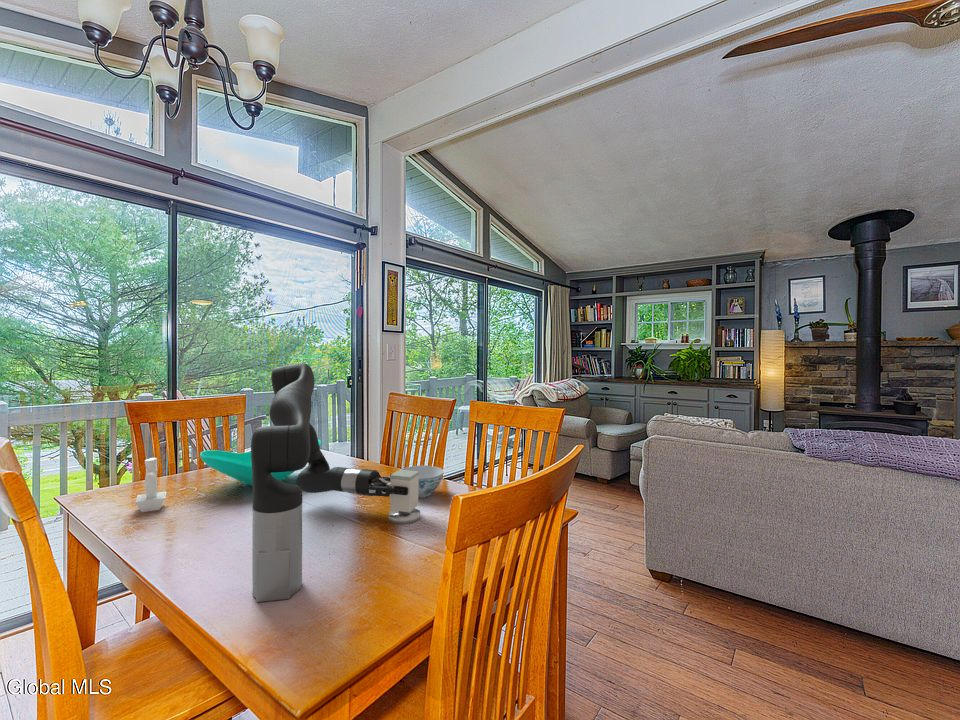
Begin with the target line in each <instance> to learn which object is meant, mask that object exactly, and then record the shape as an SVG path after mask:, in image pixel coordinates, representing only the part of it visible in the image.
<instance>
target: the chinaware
mask: <svg viewBox="0 0 960 720" xmlns="http://www.w3.org/2000/svg"><path fill="white" fill-rule="evenodd" d="M400 470H409V471H418V472H419V486H418V498H427V497H429V495H430V496H431V495H432V492H433V491H435V490H436V489H437V488H438V487H440V486H439V485H440V484H441V482H442V480H443V477H444V473H445V472H444V470H443V468H441V467H438V466H432V465H412V466H406V467H404V468H401V469H400ZM426 496H427V497H426Z"/></svg>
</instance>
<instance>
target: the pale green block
mask: <svg viewBox="0 0 960 720" xmlns="http://www.w3.org/2000/svg"><path fill="white" fill-rule="evenodd" d="M391 474H392V475H391V484H390V485H395V486H403V487H408V494H407V495H398V494H395V495H390V496H389V497H390V498H389V510H390V511H391V510H395V511H403V512H411V511H412V510H413V509H414V508H417V507H418V506H419V497H418V486H419V472H418V471H409V470H401V469H399V470H397V471H395V472H393V473H391Z"/></svg>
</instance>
